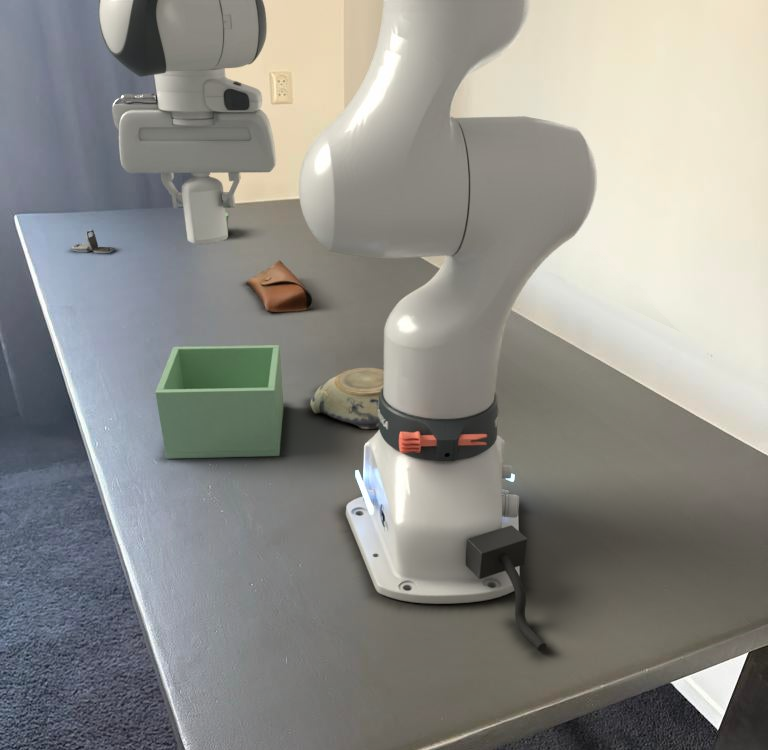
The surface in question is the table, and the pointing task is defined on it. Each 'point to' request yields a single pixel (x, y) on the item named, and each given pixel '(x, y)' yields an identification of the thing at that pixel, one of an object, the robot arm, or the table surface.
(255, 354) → the bin
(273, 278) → the sunglasses case
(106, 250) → the strap clip
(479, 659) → the table surface
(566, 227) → the robot arm
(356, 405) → the decorative bowl
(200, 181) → the eye dropper bottle
